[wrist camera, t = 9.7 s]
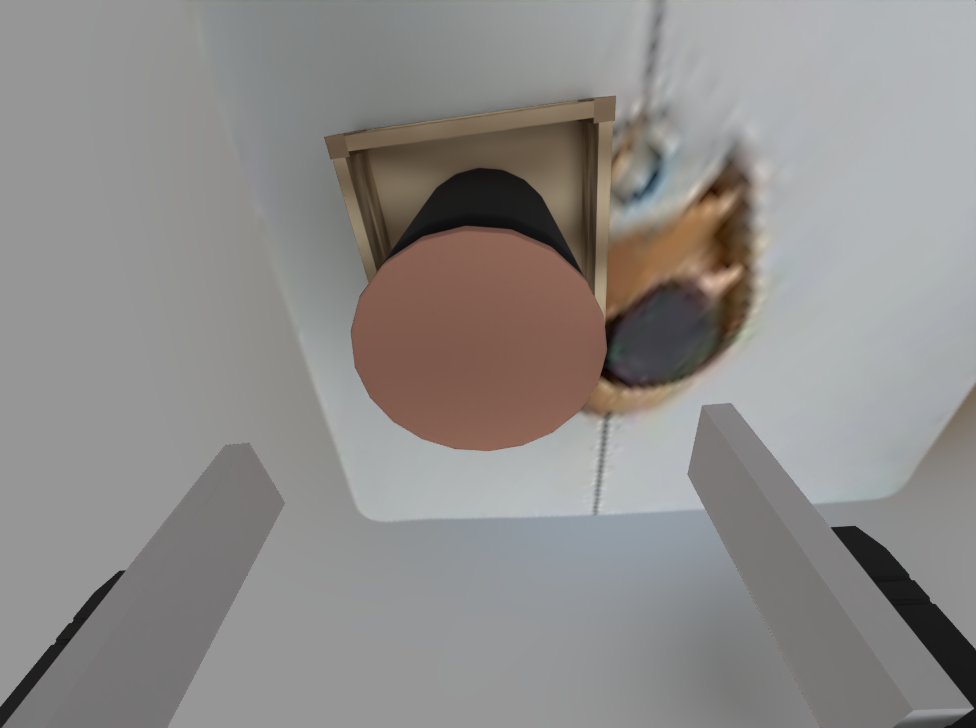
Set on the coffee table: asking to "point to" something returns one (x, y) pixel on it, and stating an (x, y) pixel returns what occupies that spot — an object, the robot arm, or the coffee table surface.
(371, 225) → the pine crate
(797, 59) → the coffee table surface
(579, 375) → the coffee jar
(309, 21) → the coffee table surface
